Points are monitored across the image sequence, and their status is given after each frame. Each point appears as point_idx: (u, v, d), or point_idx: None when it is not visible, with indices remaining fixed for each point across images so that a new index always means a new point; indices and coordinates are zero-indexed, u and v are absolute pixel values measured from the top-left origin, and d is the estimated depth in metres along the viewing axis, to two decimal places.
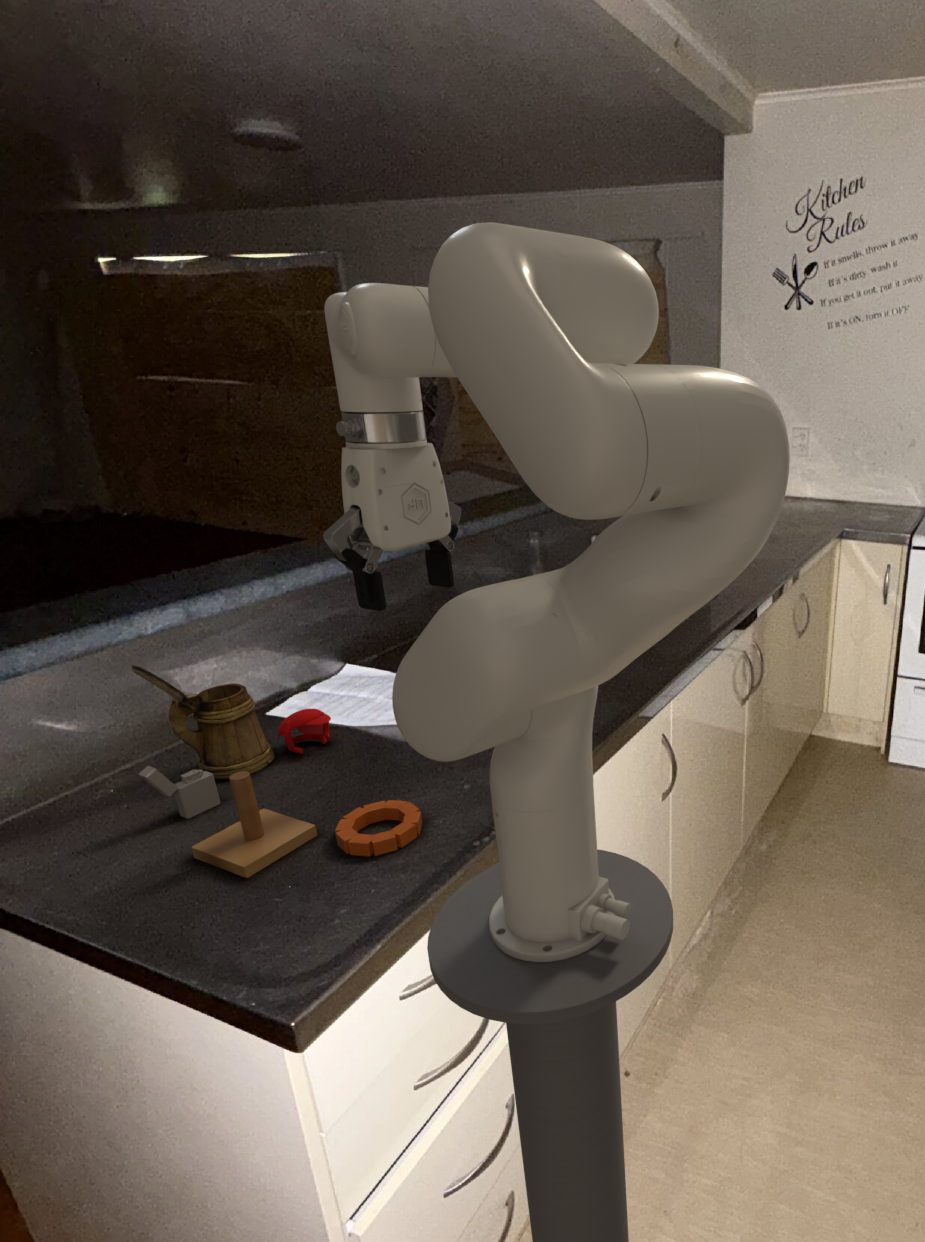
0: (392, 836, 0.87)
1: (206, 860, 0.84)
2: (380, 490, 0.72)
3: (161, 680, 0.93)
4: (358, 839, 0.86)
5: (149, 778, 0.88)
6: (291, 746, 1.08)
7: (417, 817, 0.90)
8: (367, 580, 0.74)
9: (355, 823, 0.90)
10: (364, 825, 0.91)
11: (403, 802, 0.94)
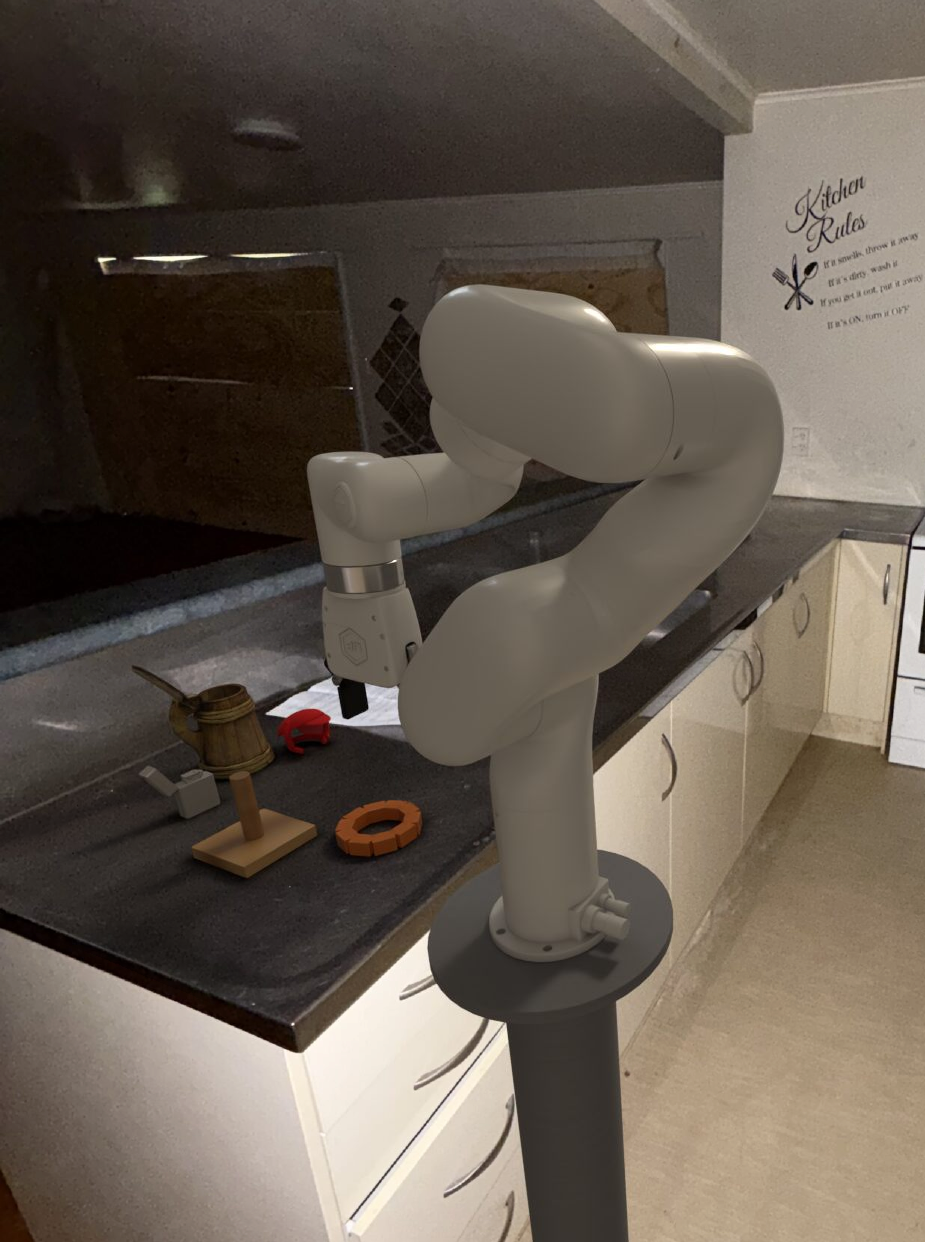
0: (392, 836, 0.87)
1: (206, 860, 0.84)
2: (326, 624, 0.79)
3: (161, 680, 0.93)
4: (358, 839, 0.86)
5: (149, 778, 0.88)
6: (291, 746, 1.08)
7: (417, 817, 0.90)
8: None
9: (355, 823, 0.90)
10: (364, 825, 0.91)
11: (403, 802, 0.94)
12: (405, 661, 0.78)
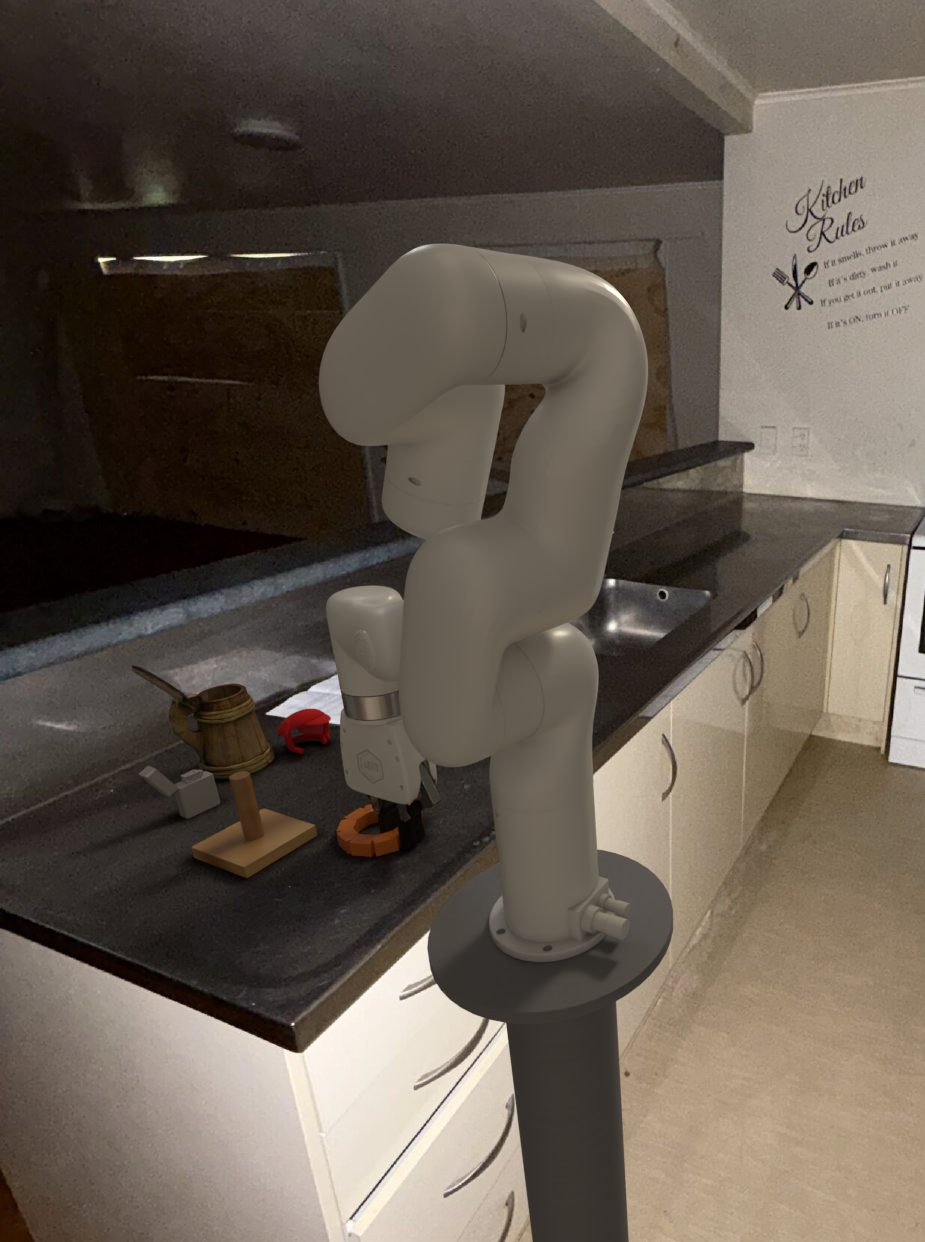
0: (393, 836, 0.87)
1: (206, 860, 0.84)
2: (343, 743, 0.84)
3: (161, 680, 0.93)
4: (359, 839, 0.86)
5: (149, 778, 0.88)
6: (291, 746, 1.08)
7: None
8: None
9: (356, 823, 0.90)
10: (365, 825, 0.91)
11: None
12: (419, 778, 0.83)
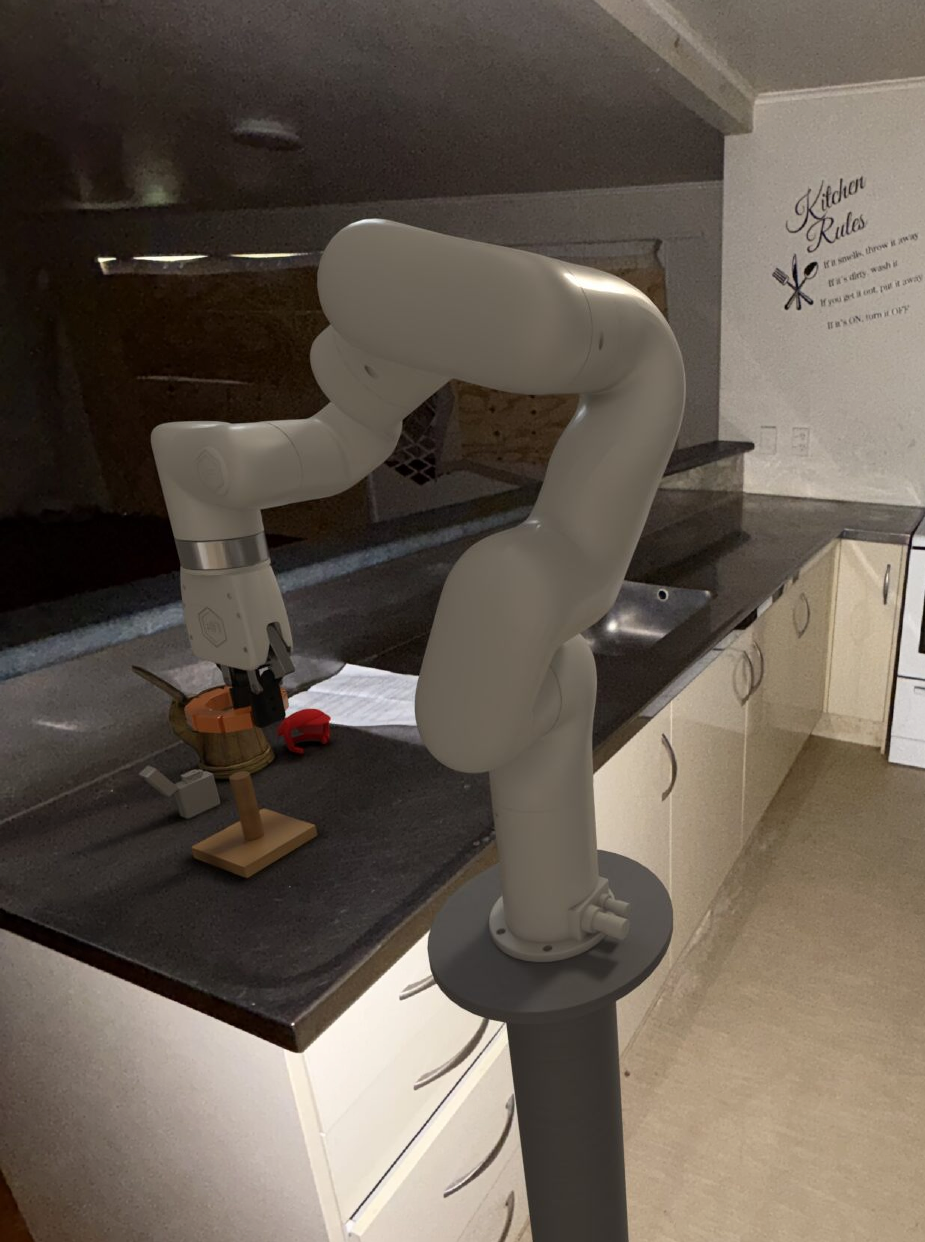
0: (246, 712, 0.78)
1: (206, 860, 0.84)
2: (185, 603, 0.75)
3: (161, 680, 0.93)
4: (207, 714, 0.78)
5: (149, 778, 0.88)
6: (291, 746, 1.08)
7: None
8: None
9: (211, 702, 0.81)
10: (223, 707, 0.83)
11: None
12: (267, 641, 0.74)
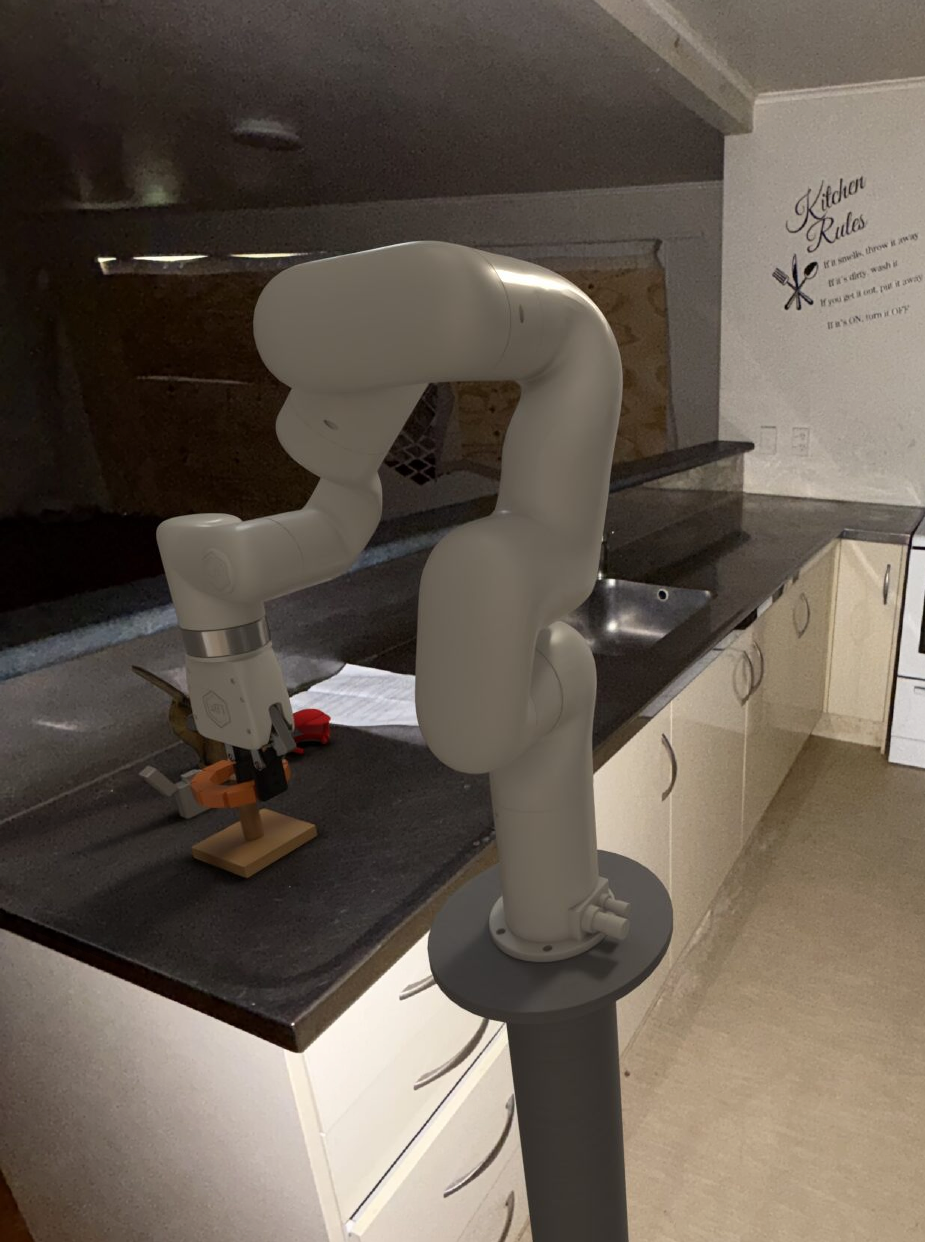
0: (250, 787, 0.81)
1: (206, 860, 0.84)
2: (190, 685, 0.78)
3: (161, 680, 0.93)
4: (212, 790, 0.80)
5: (149, 778, 0.88)
6: None
7: None
8: None
9: (215, 775, 0.84)
10: (227, 778, 0.86)
11: None
12: (269, 722, 0.77)
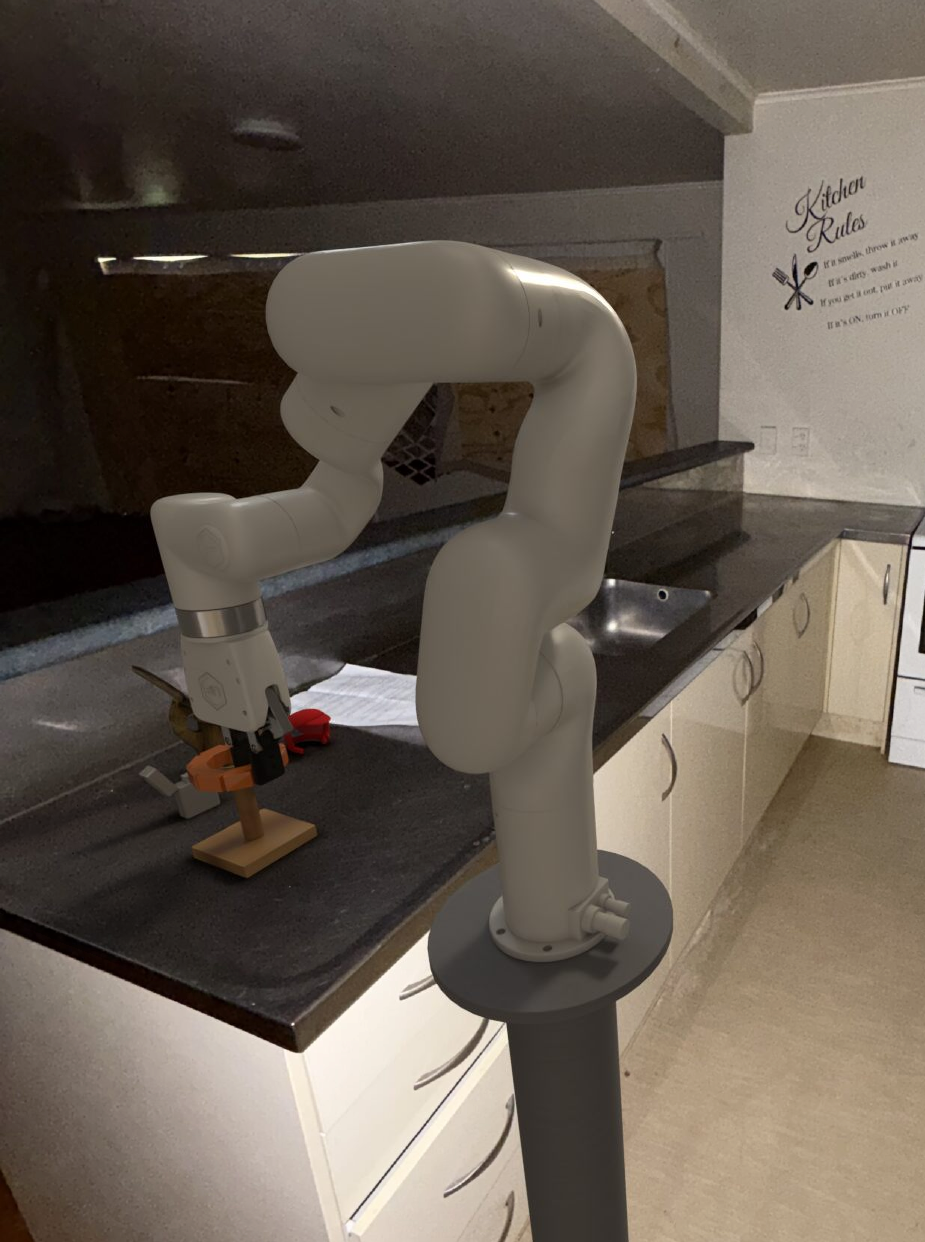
0: (247, 771, 0.80)
1: (206, 860, 0.84)
2: (186, 668, 0.77)
3: (161, 680, 0.93)
4: (209, 774, 0.80)
5: (149, 778, 0.88)
6: (291, 746, 1.08)
7: None
8: None
9: (212, 760, 0.83)
10: (224, 763, 0.85)
11: None
12: (266, 704, 0.76)
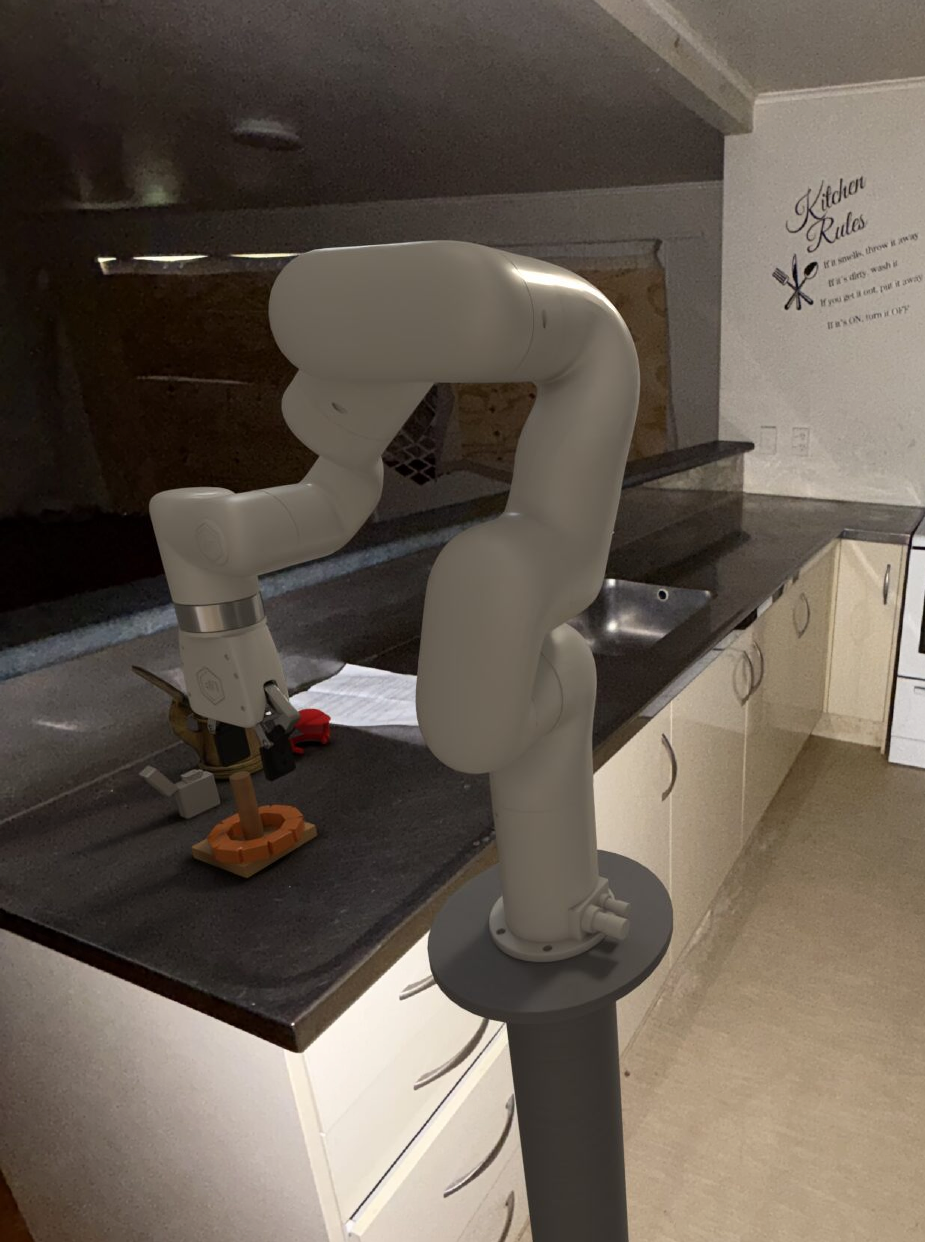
0: (264, 843, 0.83)
1: (206, 860, 0.84)
2: (184, 662, 0.77)
3: (161, 680, 0.93)
4: (228, 846, 0.82)
5: (149, 778, 0.88)
6: None
7: (296, 823, 0.86)
8: None
9: (232, 828, 0.86)
10: None
11: (288, 807, 0.90)
12: (264, 699, 0.76)
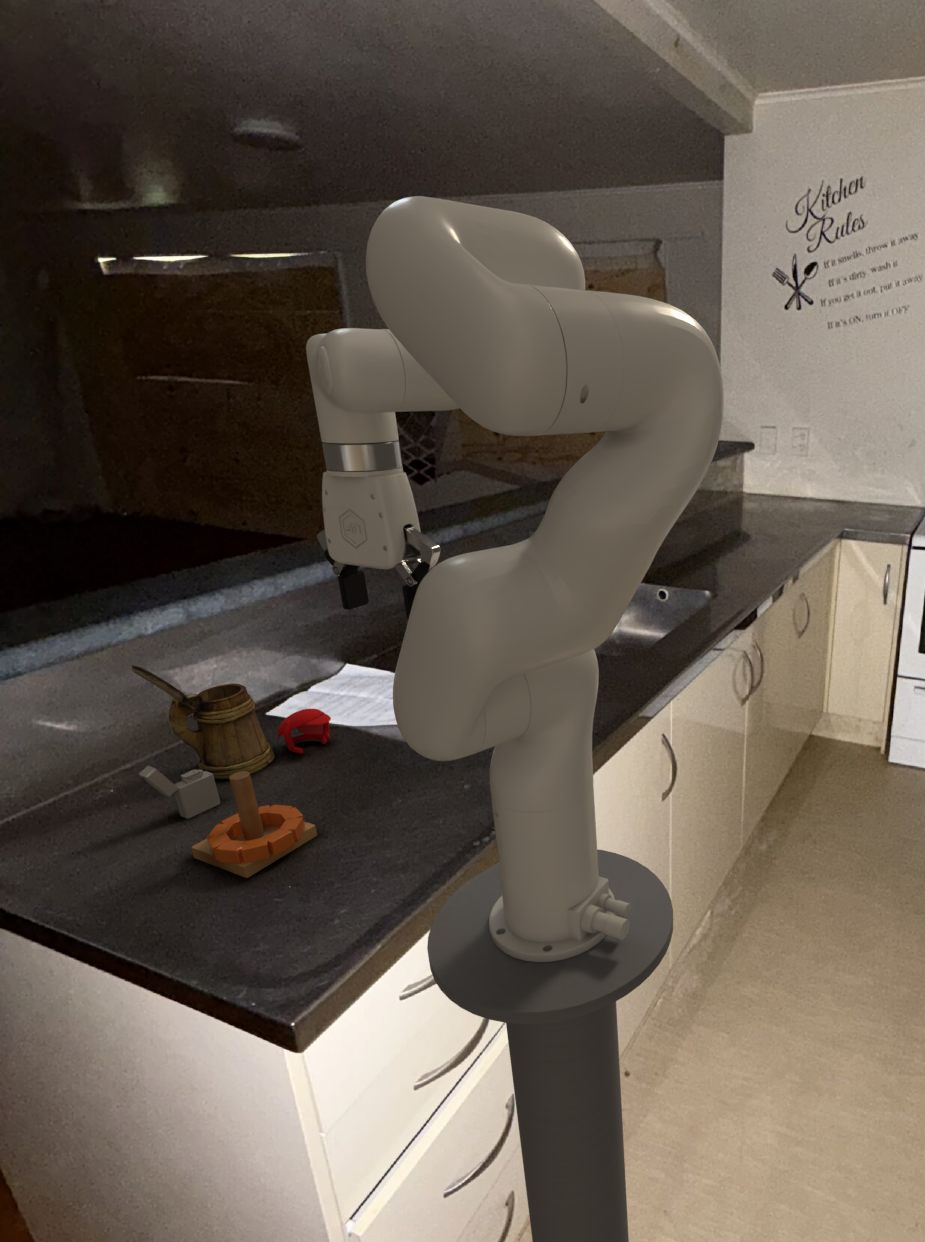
0: (264, 843, 0.83)
1: (206, 860, 0.84)
2: (326, 508, 0.81)
3: (161, 680, 0.93)
4: (228, 846, 0.82)
5: (149, 778, 0.88)
6: (291, 746, 1.08)
7: (296, 823, 0.86)
8: None
9: (232, 828, 0.86)
10: None
11: (288, 807, 0.90)
12: (403, 541, 0.80)
